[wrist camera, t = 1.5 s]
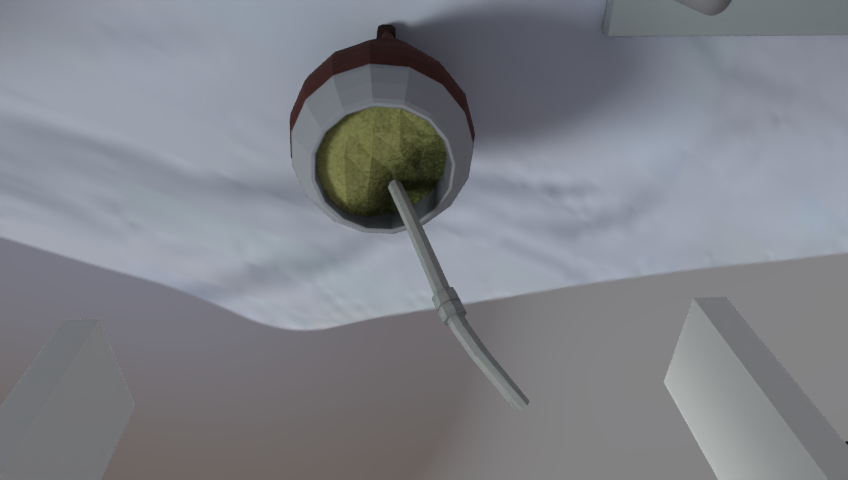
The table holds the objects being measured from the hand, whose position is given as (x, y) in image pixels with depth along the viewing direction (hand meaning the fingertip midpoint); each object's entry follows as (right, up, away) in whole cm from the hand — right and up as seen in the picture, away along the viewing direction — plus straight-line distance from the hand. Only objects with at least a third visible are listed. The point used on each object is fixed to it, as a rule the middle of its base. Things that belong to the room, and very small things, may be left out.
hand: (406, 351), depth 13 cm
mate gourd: (-1, +9, +13) cm, 16 cm away
